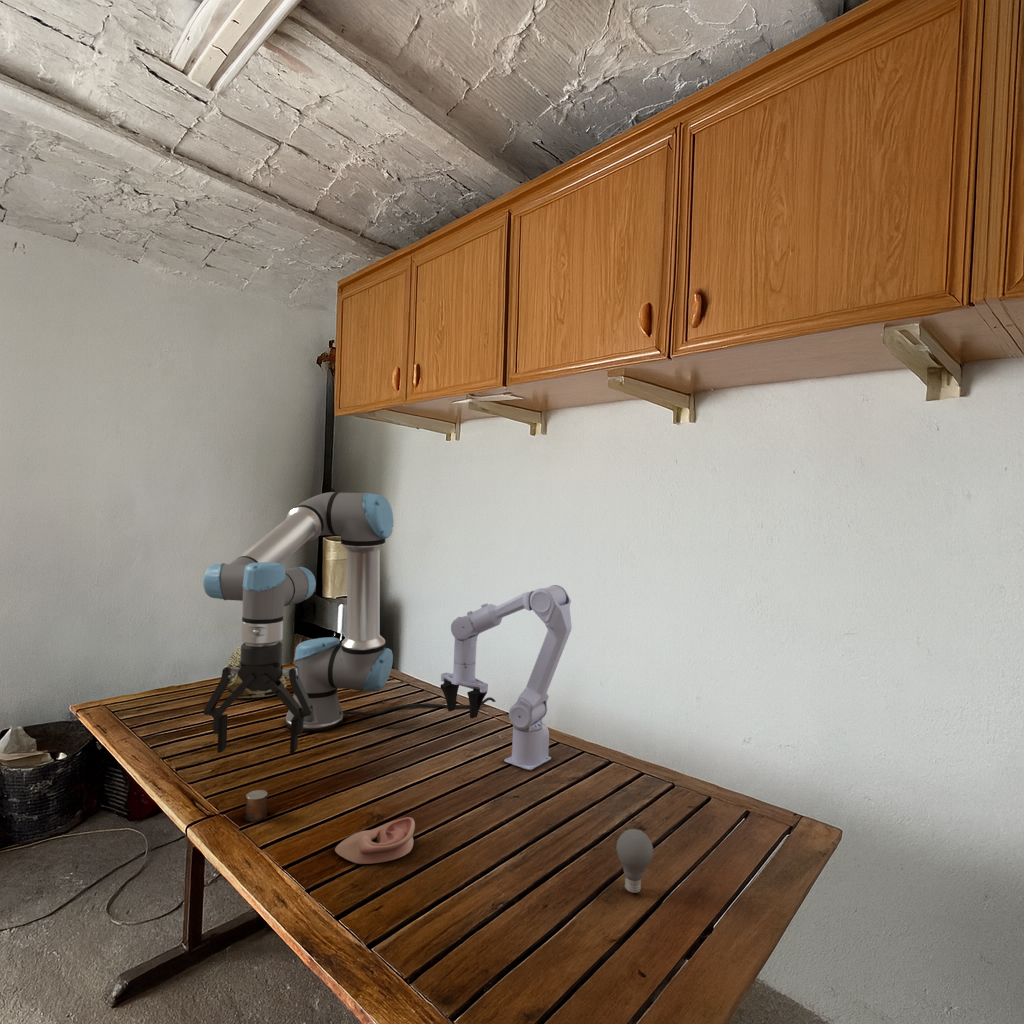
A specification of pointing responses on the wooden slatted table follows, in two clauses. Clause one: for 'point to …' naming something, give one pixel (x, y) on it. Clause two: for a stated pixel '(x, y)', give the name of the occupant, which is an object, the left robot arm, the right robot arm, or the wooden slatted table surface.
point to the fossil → (237, 681)
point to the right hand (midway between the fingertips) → (462, 713)
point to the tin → (256, 805)
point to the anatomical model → (379, 843)
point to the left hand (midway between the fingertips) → (258, 750)
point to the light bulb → (634, 857)
